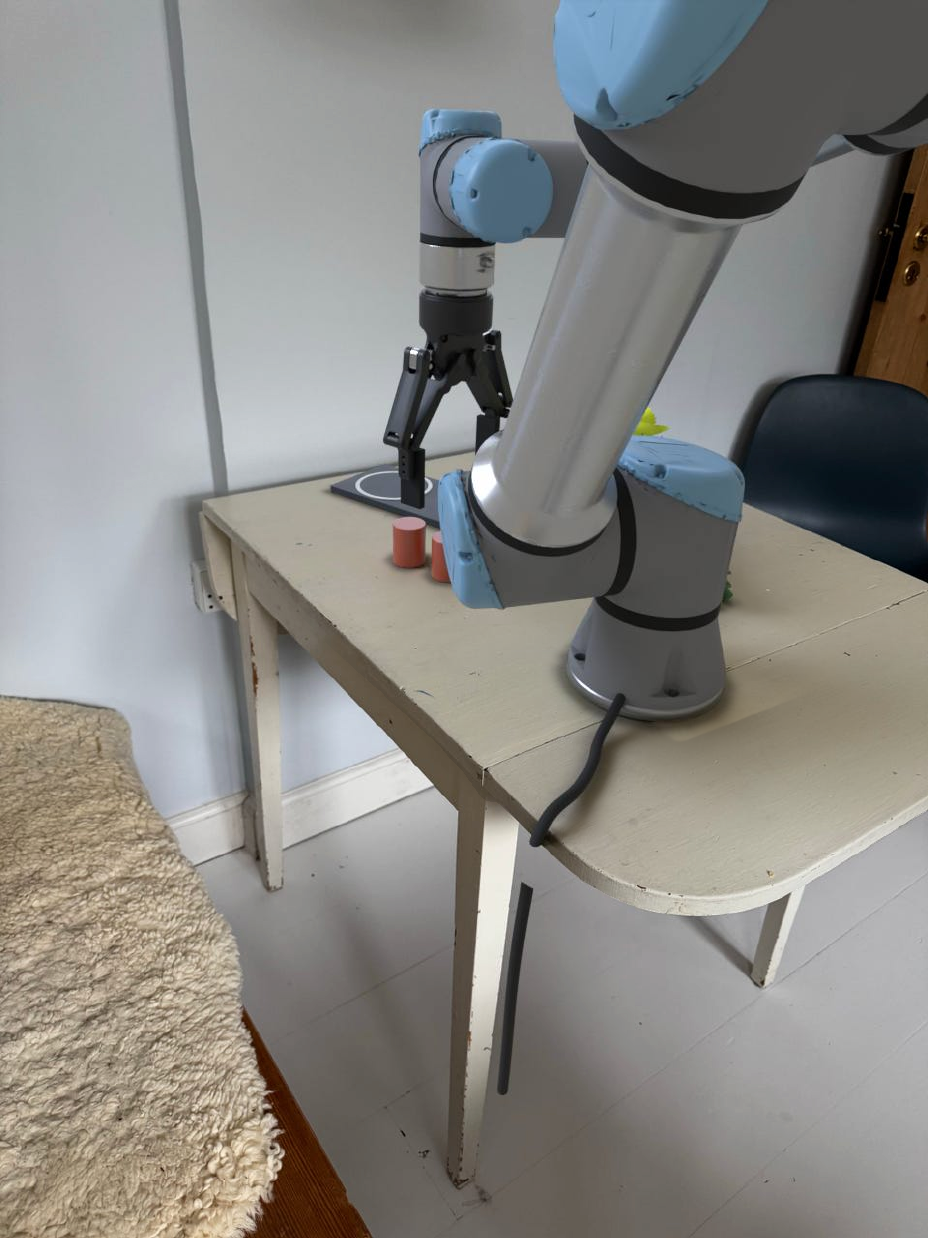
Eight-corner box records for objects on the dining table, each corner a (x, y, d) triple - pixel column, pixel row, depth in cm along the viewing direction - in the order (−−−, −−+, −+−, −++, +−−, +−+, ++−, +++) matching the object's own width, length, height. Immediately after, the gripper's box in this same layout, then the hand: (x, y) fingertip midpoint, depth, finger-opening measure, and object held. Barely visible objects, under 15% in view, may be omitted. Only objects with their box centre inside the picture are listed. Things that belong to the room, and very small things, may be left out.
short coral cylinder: (451, 586, 98) (452, 547, 95) (424, 575, 100) (425, 537, 97) (471, 573, 101) (472, 536, 98) (444, 564, 103) (445, 526, 100)
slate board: (463, 536, 110) (464, 528, 109) (330, 491, 122) (330, 484, 121) (513, 509, 118) (514, 501, 118) (384, 469, 130) (384, 462, 130)
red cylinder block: (411, 571, 101) (411, 533, 98) (386, 561, 103) (385, 524, 100) (432, 559, 104) (432, 522, 101) (407, 550, 106) (407, 513, 103)
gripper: (405, 311, 74) (405, 531, 85) (553, 279, 91) (537, 465, 102) (342, 299, 77) (350, 511, 88) (496, 271, 95) (487, 451, 106)
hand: (450, 487), depth 95 cm, fingers open, 13 cm apart
